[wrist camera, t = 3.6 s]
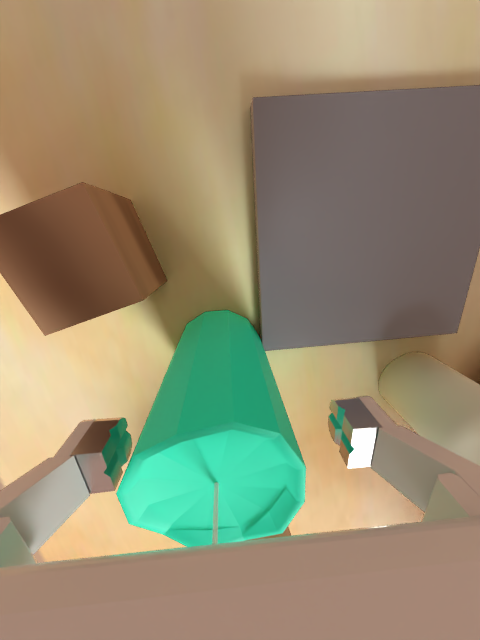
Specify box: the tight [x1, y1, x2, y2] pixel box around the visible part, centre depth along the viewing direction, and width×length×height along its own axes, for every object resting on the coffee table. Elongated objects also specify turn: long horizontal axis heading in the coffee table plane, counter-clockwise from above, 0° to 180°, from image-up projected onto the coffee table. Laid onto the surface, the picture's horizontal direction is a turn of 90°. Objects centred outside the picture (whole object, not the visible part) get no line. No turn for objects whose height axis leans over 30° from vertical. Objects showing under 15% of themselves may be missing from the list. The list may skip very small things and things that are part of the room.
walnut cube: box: [0, 182, 167, 336], centre depth 12 cm, size 5×5×5 cm
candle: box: [116, 310, 306, 547], centre depth 12 cm, size 6×6×12 cm
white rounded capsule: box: [378, 352, 480, 466], centre depth 17 cm, size 5×5×6 cm
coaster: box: [251, 85, 480, 351], centre depth 15 cm, size 14×14×1 cm
